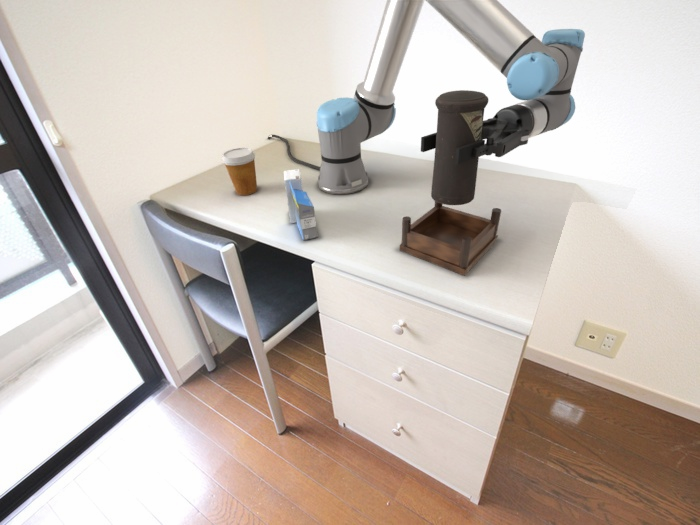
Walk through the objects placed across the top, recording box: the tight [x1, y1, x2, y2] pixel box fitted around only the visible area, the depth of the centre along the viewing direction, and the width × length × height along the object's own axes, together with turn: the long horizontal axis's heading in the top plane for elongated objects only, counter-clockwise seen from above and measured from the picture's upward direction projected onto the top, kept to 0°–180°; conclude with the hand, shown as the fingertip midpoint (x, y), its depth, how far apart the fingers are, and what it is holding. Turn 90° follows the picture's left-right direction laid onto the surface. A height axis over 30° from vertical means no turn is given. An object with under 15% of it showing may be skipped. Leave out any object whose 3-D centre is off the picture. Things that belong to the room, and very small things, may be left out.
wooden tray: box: [399, 201, 502, 277], centre depth 80 cm, size 16×16×8 cm
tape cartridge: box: [289, 180, 319, 241], centre depth 88 cm, size 9×4×12 cm, turn 17°
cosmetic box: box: [283, 168, 304, 224], centre depth 94 cm, size 6×4×12 cm
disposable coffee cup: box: [221, 147, 258, 196], centre depth 110 cm, size 10×10×12 cm
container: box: [430, 89, 489, 206], centre depth 70 cm, size 9×9×20 cm
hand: (439, 150), depth 67 cm, fingers closed on container, 8 cm apart
